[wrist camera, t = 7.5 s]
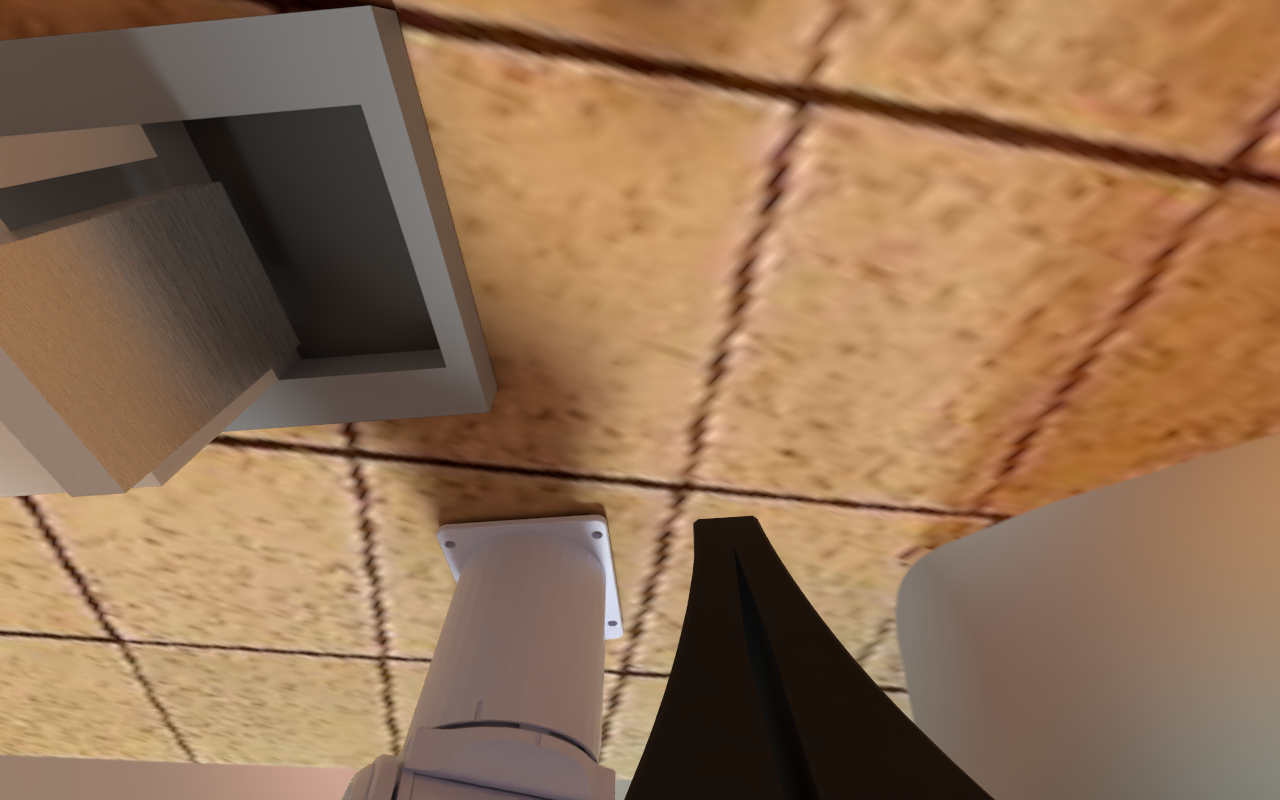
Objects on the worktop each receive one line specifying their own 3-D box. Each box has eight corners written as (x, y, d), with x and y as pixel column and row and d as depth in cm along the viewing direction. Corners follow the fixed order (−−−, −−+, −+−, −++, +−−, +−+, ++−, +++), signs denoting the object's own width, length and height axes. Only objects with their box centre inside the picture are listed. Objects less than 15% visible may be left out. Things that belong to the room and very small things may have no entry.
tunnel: (278, 380, 18) (161, 485, 14) (113, 392, 18) (-57, 501, 14) (140, 123, 14) (-101, 154, 9) (-76, 143, 14) (-417, 182, 9)
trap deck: (497, 389, 20) (488, 412, 19) (-48, 429, 21) (-95, 454, 20) (395, 11, 14) (370, 5, 12) (-397, 85, 14) (-502, 88, 13)
